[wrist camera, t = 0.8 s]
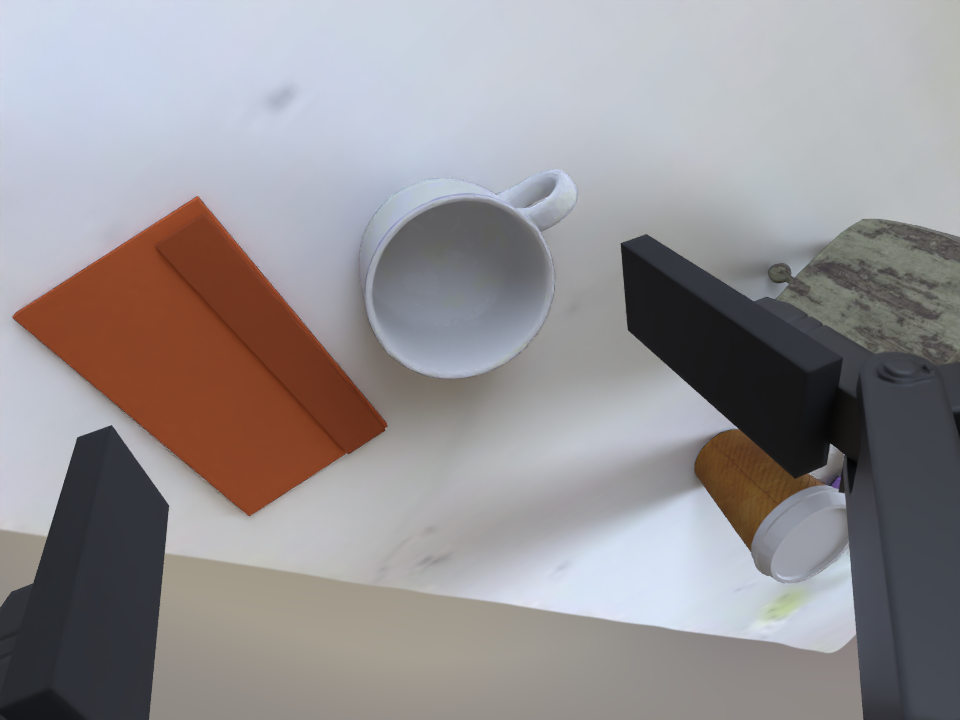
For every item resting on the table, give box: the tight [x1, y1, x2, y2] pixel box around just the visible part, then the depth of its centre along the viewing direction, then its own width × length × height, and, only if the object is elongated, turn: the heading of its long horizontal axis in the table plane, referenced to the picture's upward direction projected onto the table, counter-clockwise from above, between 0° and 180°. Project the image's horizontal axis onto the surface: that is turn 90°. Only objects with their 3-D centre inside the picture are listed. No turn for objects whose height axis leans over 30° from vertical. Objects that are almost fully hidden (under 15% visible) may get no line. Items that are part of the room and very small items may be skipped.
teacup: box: [359, 170, 578, 379], centre depth 38 cm, size 14×11×8 cm
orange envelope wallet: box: [13, 196, 388, 516], centre depth 41 cm, size 20×12×1 cm, turn 28°
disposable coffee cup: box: [695, 429, 849, 583], centre depth 57 cm, size 10×10×12 cm
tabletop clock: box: [769, 219, 960, 365], centre depth 43 cm, size 14×9×25 cm, turn 137°
